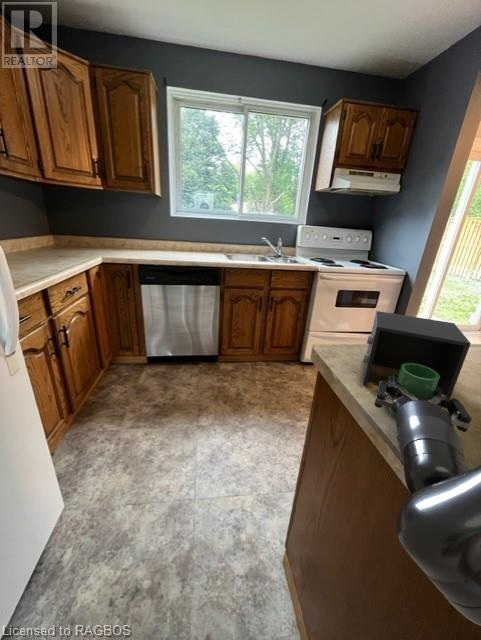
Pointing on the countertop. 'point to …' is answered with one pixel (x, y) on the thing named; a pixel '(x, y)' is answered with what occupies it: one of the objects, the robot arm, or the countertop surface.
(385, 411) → the countertop surface
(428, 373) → the green cylinder
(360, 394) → the countertop surface
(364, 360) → the dark grey open box
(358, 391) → the countertop surface
